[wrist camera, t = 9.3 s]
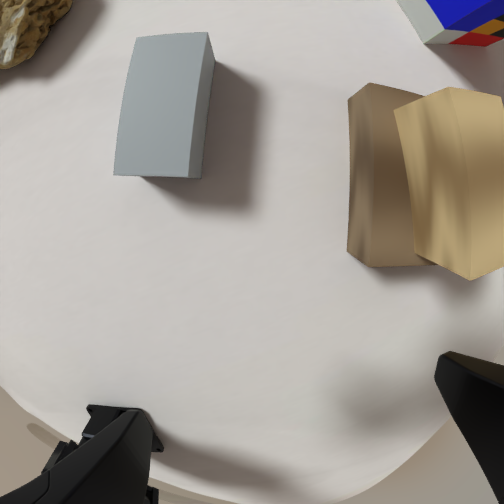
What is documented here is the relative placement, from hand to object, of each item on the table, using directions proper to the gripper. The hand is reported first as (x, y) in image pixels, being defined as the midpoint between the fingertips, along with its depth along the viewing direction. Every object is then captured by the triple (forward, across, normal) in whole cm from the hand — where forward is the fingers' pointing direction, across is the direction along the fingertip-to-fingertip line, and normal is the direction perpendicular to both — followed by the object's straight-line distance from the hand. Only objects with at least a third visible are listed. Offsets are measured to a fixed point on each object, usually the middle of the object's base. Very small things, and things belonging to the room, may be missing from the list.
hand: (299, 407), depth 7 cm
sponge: (+12, +22, -28) cm, 38 cm away
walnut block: (+12, -10, -5) cm, 16 cm away
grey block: (+12, +4, -11) cm, 17 cm away
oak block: (+8, -10, -5) cm, 14 cm away
